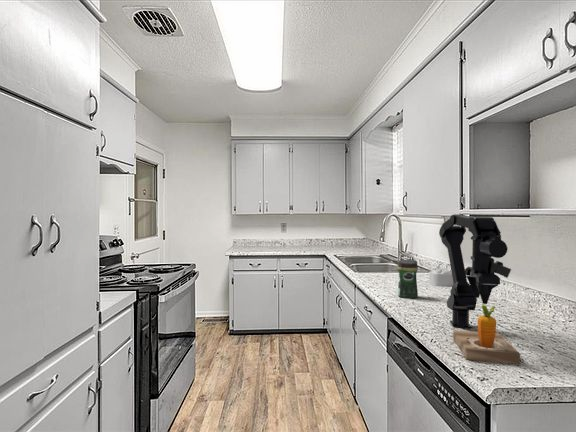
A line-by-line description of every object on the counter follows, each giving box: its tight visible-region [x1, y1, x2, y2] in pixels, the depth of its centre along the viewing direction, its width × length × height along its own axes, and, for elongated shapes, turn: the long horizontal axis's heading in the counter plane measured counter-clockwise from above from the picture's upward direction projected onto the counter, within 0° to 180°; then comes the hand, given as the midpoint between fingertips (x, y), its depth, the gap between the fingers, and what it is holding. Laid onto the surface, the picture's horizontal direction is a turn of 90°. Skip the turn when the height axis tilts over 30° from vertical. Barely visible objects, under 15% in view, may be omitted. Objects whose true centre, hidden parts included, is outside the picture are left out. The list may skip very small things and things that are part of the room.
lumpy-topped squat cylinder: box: [428, 268, 454, 288], centre depth 222 cm, size 10×13×9 cm
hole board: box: [452, 329, 521, 365], centre depth 118 cm, size 18×14×3 cm
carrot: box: [477, 303, 497, 348], centre depth 115 cm, size 5×5×15 cm
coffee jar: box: [397, 259, 419, 299], centre depth 190 cm, size 10×8×19 cm
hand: (481, 300), depth 128 cm, fingers open, 9 cm apart
